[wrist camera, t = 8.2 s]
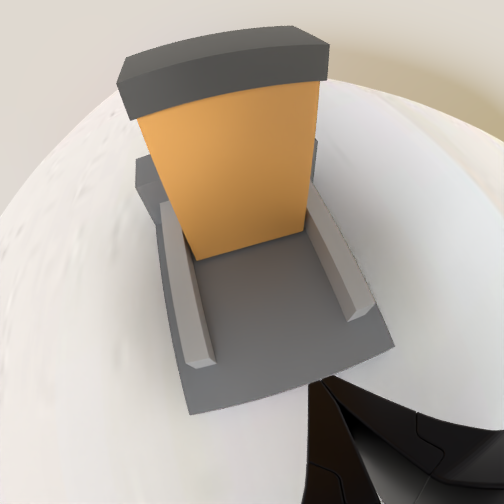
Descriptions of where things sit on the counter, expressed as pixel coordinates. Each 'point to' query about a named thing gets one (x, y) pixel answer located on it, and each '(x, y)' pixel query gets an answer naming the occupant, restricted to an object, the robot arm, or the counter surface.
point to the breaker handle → (231, 130)
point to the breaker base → (262, 306)
